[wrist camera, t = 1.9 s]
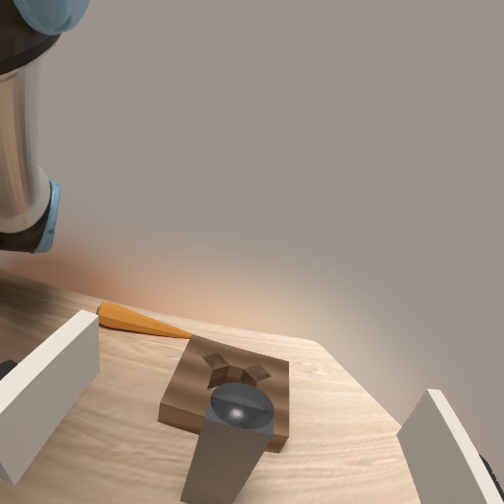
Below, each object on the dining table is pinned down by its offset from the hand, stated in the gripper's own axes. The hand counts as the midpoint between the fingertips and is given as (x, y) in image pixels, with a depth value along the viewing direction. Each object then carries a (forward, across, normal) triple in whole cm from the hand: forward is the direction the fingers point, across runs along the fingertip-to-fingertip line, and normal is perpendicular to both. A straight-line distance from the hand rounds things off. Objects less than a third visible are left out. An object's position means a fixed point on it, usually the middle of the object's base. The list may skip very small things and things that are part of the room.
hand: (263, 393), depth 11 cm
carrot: (+36, -15, -24) cm, 46 cm away
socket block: (+26, 0, -24) cm, 36 cm away
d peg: (+10, 0, -25) cm, 27 cm away
